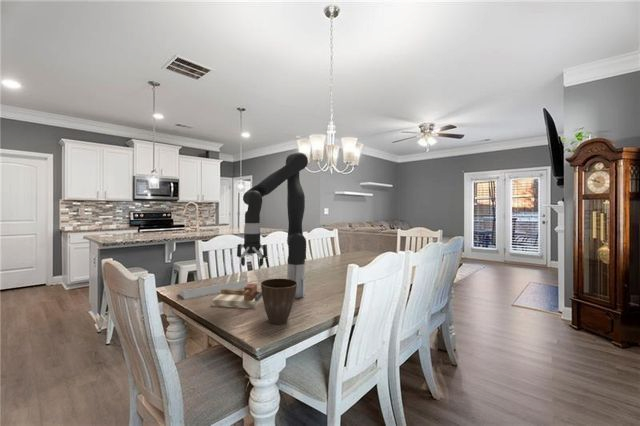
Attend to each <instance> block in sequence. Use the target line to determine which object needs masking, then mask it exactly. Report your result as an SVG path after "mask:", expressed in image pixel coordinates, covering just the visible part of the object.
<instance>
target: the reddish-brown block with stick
mask: <svg viewBox="0 0 640 426" xmlns="http://www.w3.org/2000/svg"><path fill="white" fill-rule="evenodd" d="M243 290H244V293H243V295H244V300H253V299H254V298H255V296H256V295H257V291H258V284H257V283H248V285H247V286H245V287H244V289H243Z"/></svg>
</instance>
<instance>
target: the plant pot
mask: <svg viewBox="0 0 640 426" xmlns="http://www.w3.org/2000/svg"><path fill="white" fill-rule="evenodd" d="M296 288H297V282H296V281H294V280H290V279H287V278H269V279H265V280H263V281H261V282H260V289H261V290H260V291H262V297H263V301H262V302H263V307H264V310H265V314H266V317H267V319H268V322H269V323H270V324H273V325H283V324H286V323H287V322H288V319H289V317H290V314H291V311H292V307H293V305H294V301H295V299H296V298H295V293H296Z"/></svg>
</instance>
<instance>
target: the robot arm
mask: <svg viewBox="0 0 640 426" xmlns="http://www.w3.org/2000/svg"><path fill="white" fill-rule="evenodd" d="M308 163H309V159H308V156H307V155H306V154H305V153H303V152H294V153H291V154H289V155H287V157H286V159H285V165H284V166H282V167H281V168H280V169H277V170H275V172H274V171H273V173H271V174H269V175H268V176H266V177H265V178H264V179H263V180H261V181H260V182H259V183H258V184H256V185H254V186H253V187H251V188H250V189H248V190H246V191H245V192H244V194H243V196H242V201H243V202H244V204H245V205H246V206H247V210H246V211H245V213H244V227H243V228H244V229H243V234H244V235H243V237H244V238H243V242H244V243H243V244H242V243H238V244H237V250H236V257H237V258H240V265H241V266H242V267H243V266H244V267H245V265H246V257H245V256H246V255H248V254H255V255H257V256H258V257H259V259H258V260H259V265H258V266H259V267H263V265H264V258H266V257H268V245H267V244H261V210H262V206H263V205H262V204H263V197H264V196H268V195H270V194H271V193H272V192H273V191H274V190H276V189H277V188H279V186H281V185H282V184H283V183H284V182H285V181H286V180H287V181H286V182H287V183H286V185H287V186H286V187H287V188H286V191H287V192H286V193H287V196H286V198H287V199H286V200H287V202H286V203H287V204H286V205H287V206H286V207H287V219H288V220H287V221H288V228H287V231H288V232H287V238H286V242H287V243H286V244H287V245H288V253H287V254H288V255H287V261H286V262H287V267H286V268H287V270H286V271H287V272H286V273H287V274H286V275H287V276H286V279H290V280H294V281H296V282H297V288H296V293H295V298H294V299H298V298H304V297H305V294H306V275H305V271H306V269H305V268H306V267H305V266H306V258H307V239H306V237H305V236H304V234H303V219H304V214H305V207H306V206H305V203H306V202H305V201H306V200H305V199H306V197H305V193H304V190H303V187H302V185H301V181H300V172H301V171H303V170H304V169H306V167H307V166H308ZM242 249H244V251H243V253H242ZM260 249H262V251H261V250H260Z"/></svg>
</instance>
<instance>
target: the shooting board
mask: <svg viewBox="0 0 640 426" xmlns="http://www.w3.org/2000/svg"><path fill="white" fill-rule="evenodd" d="M243 293H244V289H241V290H233V289H221V293H219V295H217V296H215V297H214V298H213V299H211V300H212V302H211V305H212V307H222V308H240V309H241V308H242V309H257V308H258V307H259V306H260V305H261V304H262V302H263V297H262V290H257V295H256V296H255V298H254V299H253V300H244V295H243Z"/></svg>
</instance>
